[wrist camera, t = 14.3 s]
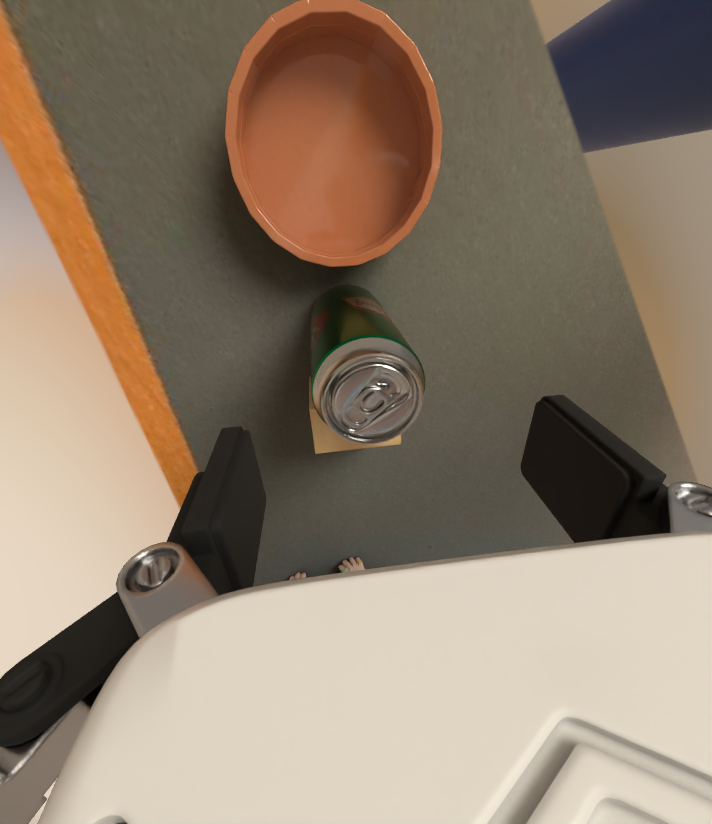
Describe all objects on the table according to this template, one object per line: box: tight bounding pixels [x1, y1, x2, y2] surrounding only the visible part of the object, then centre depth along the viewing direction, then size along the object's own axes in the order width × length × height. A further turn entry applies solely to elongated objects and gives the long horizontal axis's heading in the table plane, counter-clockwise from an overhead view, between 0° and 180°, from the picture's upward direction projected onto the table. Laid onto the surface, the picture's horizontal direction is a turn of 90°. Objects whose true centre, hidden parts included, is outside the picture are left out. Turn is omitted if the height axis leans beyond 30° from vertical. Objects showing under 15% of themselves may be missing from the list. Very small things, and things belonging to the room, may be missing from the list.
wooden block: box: [309, 376, 401, 454], centre depth 26 cm, size 6×4×5 cm, turn 93°
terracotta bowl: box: [225, 0, 442, 267], centre depth 19 cm, size 11×11×3 cm
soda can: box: [310, 285, 425, 444], centre depth 20 cm, size 5×5×12 cm
